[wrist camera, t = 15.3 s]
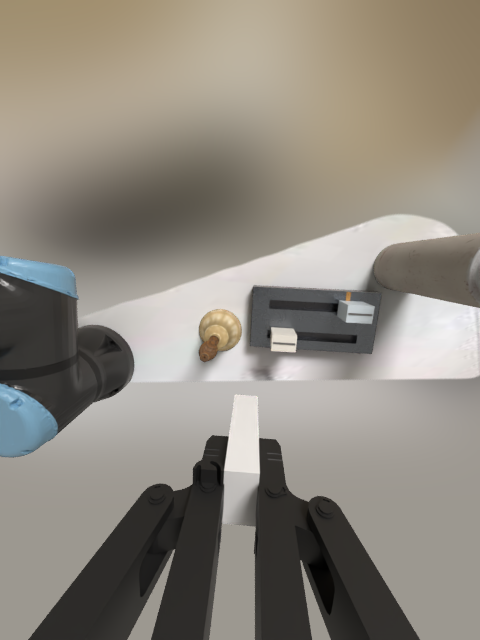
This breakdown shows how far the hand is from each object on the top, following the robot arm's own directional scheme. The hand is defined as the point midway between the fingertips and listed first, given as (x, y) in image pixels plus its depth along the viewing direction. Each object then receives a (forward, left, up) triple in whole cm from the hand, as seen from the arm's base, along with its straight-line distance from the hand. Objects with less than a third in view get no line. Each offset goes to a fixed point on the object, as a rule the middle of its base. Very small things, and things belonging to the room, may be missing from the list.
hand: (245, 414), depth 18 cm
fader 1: (+5, -3, -33) cm, 33 cm away
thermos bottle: (+25, +10, -34) cm, 43 cm away
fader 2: (+17, +2, -33) cm, 37 cm away
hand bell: (-6, -4, -34) cm, 35 cm away
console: (+11, 0, -34) cm, 36 cm away
